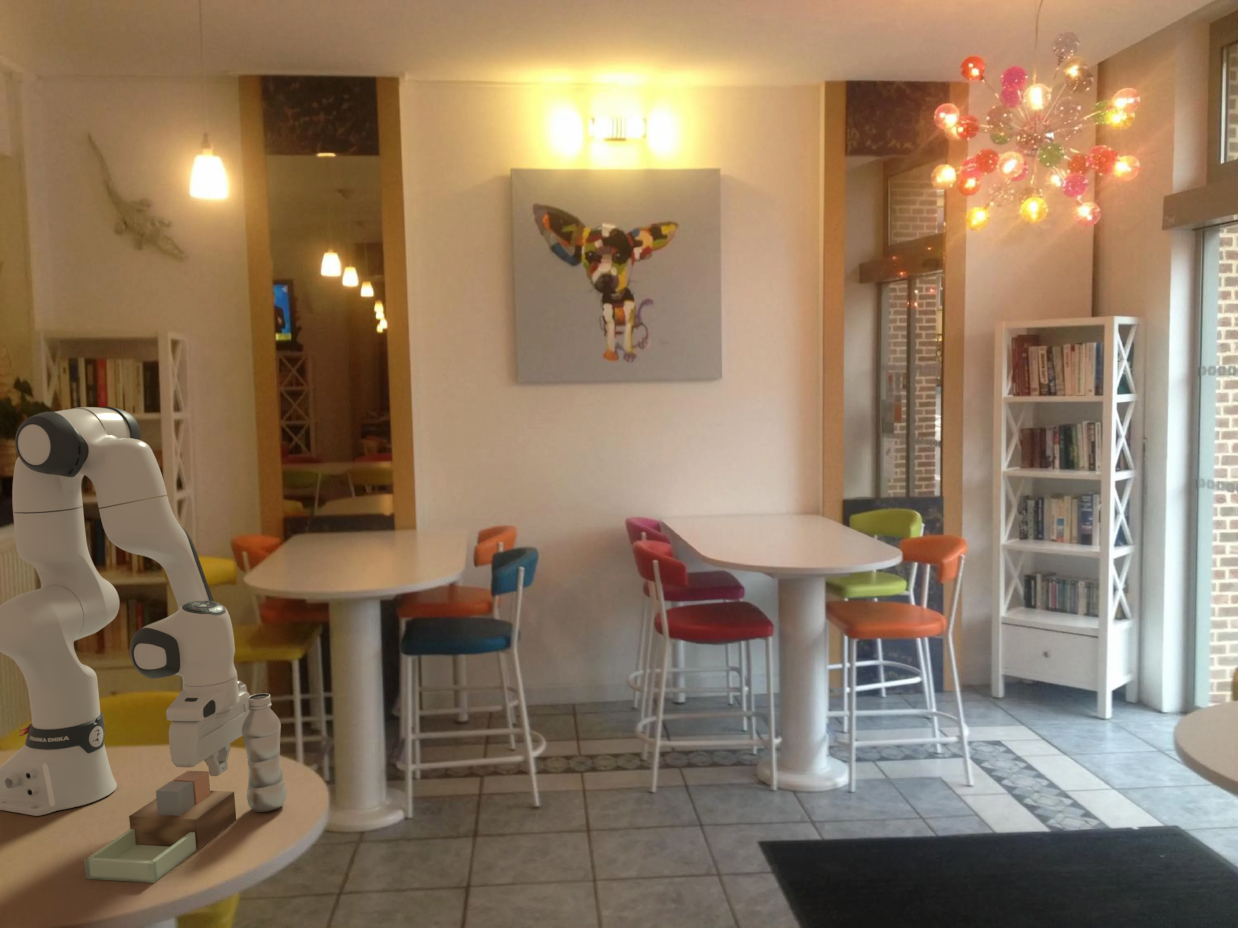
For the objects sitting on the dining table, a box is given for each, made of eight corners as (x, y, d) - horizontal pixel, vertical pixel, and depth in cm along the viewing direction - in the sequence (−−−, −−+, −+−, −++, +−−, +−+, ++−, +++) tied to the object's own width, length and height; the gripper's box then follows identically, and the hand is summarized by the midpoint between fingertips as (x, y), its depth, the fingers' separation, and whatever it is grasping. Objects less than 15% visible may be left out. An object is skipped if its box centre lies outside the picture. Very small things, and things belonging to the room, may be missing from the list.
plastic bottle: (295, 802, 187) (287, 691, 185) (271, 818, 180) (262, 703, 179) (264, 799, 189) (256, 689, 187) (239, 814, 183) (230, 701, 181)
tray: (86, 878, 161) (84, 859, 161) (131, 846, 172) (130, 828, 172) (154, 882, 159) (152, 863, 159) (196, 850, 169) (194, 832, 169)
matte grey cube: (157, 814, 172) (155, 790, 171) (172, 804, 176) (170, 780, 175) (180, 815, 171) (178, 791, 171) (194, 805, 175) (192, 781, 174)
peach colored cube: (174, 803, 176) (172, 779, 176) (189, 793, 180) (187, 770, 180) (196, 804, 175) (194, 780, 175) (210, 794, 179) (208, 771, 179)
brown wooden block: (131, 845, 172) (129, 815, 172) (173, 816, 183) (170, 788, 182) (198, 849, 170) (196, 819, 169) (236, 819, 180) (234, 791, 180)
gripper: (228, 677, 194) (235, 750, 196) (159, 714, 174) (166, 795, 176) (260, 677, 193) (266, 751, 194) (193, 714, 173) (201, 796, 174)
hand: (218, 772), depth 185 cm, fingers closed
